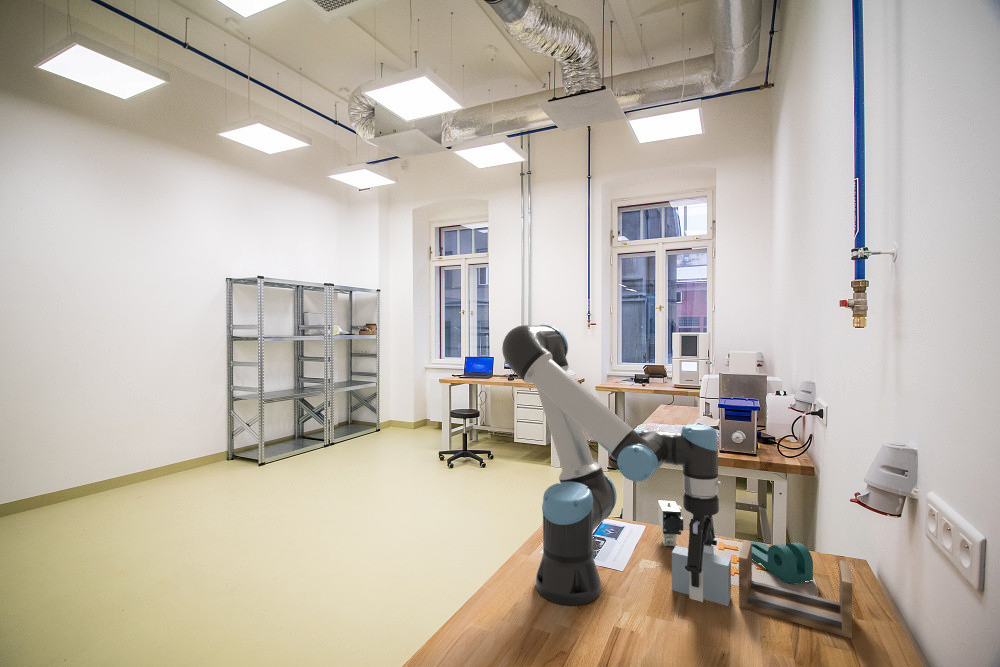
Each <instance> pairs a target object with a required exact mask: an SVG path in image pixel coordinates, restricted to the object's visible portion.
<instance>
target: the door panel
mask: <svg viewBox="0 0 1000 667" xmlns="http://www.w3.org/2000/svg"><path fill="white" fill-rule="evenodd" d="M687 559H688V547H684V546H683V547H682V546H678V545H677V546H675V547H674V548H673V549H672V551H671V591H674V592H676V593H680V594H684V595H687V596H690V593H689V571H687V570H686V569H685V566H687ZM702 571H703V600H704V601H708V602H711V603H716V604H719V605H723V606H725V607H726V606H727V607H729V606H730V602H731V599H732V584H731V582H732V578H731V577H732V559H731V558H729V557H725V556H721V555H717V554H714V555H713V554H709V553H705V552H703V560H702Z"/></svg>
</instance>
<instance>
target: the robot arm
mask: <svg viewBox="0 0 1000 667" xmlns="http://www.w3.org/2000/svg"><path fill="white" fill-rule="evenodd" d="M501 350H502V355H503V359H504V361H505V363H506V364H507V366H508V368H510V369H511V370H512V372H514V373H515V374H516V375H517V376H518V378H520V379H521V380H522V381H523V382H524V383H526V384H533V385H534V386H535V387H536V390H537V394H538V397H539V399H540V403H541V405H542V406H541V407H542V409H543V413H544V416H545V418H546V422H547V425H548V428H549V431H550V434H551V438H552V441H553V445H554V448H555V450H556V454H557V456H558V461H559V464H560V467H561V472H560V474H559V476H558V479H559V483H558V482H557V483H554V484H552V485H550V486H549V487H547V489H546V490H545V491H544V493H543V498H542V504H541V506H542V507H541V508H542V539H543V540H542V545H543V546H542V548H543V552H542V553H543V554H542V557H541V560H540V563H539V566H538V569H537V573H536V576H535V579H536V581H535V586H536V590H537V592H538V594H539V595H540V596H542V597H543V599H546V600H547V601H549V602H552V603H555V604H559V605H563V606H581V605H586V604H589V603H591V602H593V601H595V600H596V599H598V597H599V596H600V595H601V591H602V590H601V588H602V587H601V586H602V585H601V582H602V581H601V577H600V574H599V571H598V567H597V566H596V562H595V559H594V555H593V554H594V552H593V551H594V550H593V549H594V547H593V544H594V542H593V540H594V537H593V533H594V530H595V529H596V528H597V527H598V526H600V525H601V523H603V521H605V520H606V519H608V518H609V516H611V514H612V513H613V510H614V508H615V506H616V503H617V490H616V486H615V485H614V483H613V481H612V479H611V478H610V477H608V476H607V475H606V474H604V471H603V467H602V466H601V464H599V463H598V462H596V461H595V460H594V458H593V456H592V452H591V449H590V446H589V442H588V439H587V437H586V434H585V432H586V433H587V434H588V435H589V436H590V437H591V438H592V439H593V440H594V441H596V443H598V444H599V446H601V447H602V448H603V449H604V450H606V451H607V453H608V454H610V456H612V457H613V458H614V459H615V460H616V462H617V464H616V465H617V467H618V470H619V472H620V474H621V475H622V476H623V477H624V478H625V479H628V480H629V481H632V482H636V483H637V482H639V483H640V482H643V481H646V480H647V479H649V478H650V477H651V476H654V475H655V473H657V470H658V469H659V468H660V467H661V466H662V465H663V464H665V465H671V466H681V467H682V490H683V491H684V492H683V495H682V498H683V499H682V501H683V508H684V510H685V511H686V512H688V513H690V514H692V518H690V522H689V524H688V526H689V527H688V528H689V529H688V530H689V531H688V532H689V534H688V535H689V536H688V547H687V548H688V559H687V566H685V569H686V570H687V571H689V593H690V595H689V599H690V600H693V601H694V600H695V601H698V602H701V603H703V602H704V599H703V571H702V560H703V552H705V553H709V554H713V555H715V551H714V549H715V548H714V547H716V546H717V545H718V541H717V540H715V538H716V534H715V528H714V520H713V516H714V515H715V516H716V515H717V514H718V513H719V511H720V508H719V507H720V504H719V502H720V500H719V498H720V497H719V495H718V494H719V486H722V482H721V481H719V446H718V435H717V431H716V429H715V428H714V427H712V426H710V425H707V424H706V425H705V424H698V423H697V424H692V423H691V424H686V425H684V426H683V425H682V428H681V432H671V431H660V430H651V429H648V428H645V429H634V428H632V427H631V426H630V425H629V424H627V423H626V422H625V421H624V420H622V419H621V418H620V417H619V416H618V415H617V414H616V413H615V412H614V411H612V410H611V409H610V408H609V407H608V406H607V405H605V404H604V403H603V402H601V400H600V399H598V398H597V397H596V396H594V394H592V392H590V391H589V390H588V389H587V388H586V387H585V386H583V385H582V384H581V383H580V382H579V381H578V380H576V379H575V377H573V376H572V375H571V374H569V373H568V372H567V371H568V369H569V362H568V360H567V356H568V351H569V344H568V340H567V338H566V336H565V335H564V333H563V332H562V331H561V330H559V329H558V328H557V327H554V326H550V325H548V324H539V325H527V324H525V325H518V326H515V327H514V328H512V329H510V330H509V331H508V333H507V334H506V335H505V337H504V338H503V342H502V348H501Z"/></svg>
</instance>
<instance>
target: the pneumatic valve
mask: <svg viewBox="0 0 1000 667" xmlns="http://www.w3.org/2000/svg"><path fill="white" fill-rule="evenodd" d="M657 521H658V524H659V526H660V529H661V533H662V538H661V541H662V544H663V546H664V547H667V546H668V547H674V548H675V546H678V544H677V535H678V536H679V535H682V532H684V519H683V517H682V507H681V505H677V503H676V501H675V500H667V499H657Z"/></svg>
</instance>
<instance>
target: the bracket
mask: <svg viewBox="0 0 1000 667" xmlns="http://www.w3.org/2000/svg"><path fill="white" fill-rule="evenodd" d="M752 559H753V560H754V561H756V562H757V563H761V564H762V565H763V566H764V567H765V568H766V569H765V568H764V569H765V570H766V571H768V572H769V573H770V574H772V575H774V576H775V577H777V578H778V579H779V580H781V581H783V582H784V583H785V584H787V585H788V584H792V585H795V584H794V583H799V584H802V583H801V582H805V581H810V580H813V581H814V561H813V556H812V554H811V552H810V551H809V549H808V547H807V546H806V545H804V544H803V543H801V542H790V543H789V542H787V543H786V544H782V543H781V544H771V545H770V546H769V545H767V544H765V543H763V542H758V541H752ZM753 560H752V561H753ZM754 561H753V562H754ZM756 562H755V563H756ZM757 563H756V564H757Z"/></svg>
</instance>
